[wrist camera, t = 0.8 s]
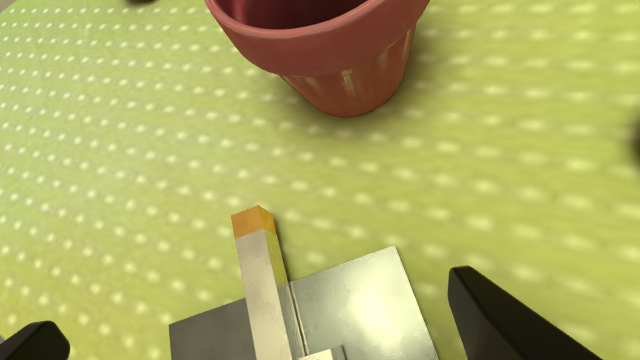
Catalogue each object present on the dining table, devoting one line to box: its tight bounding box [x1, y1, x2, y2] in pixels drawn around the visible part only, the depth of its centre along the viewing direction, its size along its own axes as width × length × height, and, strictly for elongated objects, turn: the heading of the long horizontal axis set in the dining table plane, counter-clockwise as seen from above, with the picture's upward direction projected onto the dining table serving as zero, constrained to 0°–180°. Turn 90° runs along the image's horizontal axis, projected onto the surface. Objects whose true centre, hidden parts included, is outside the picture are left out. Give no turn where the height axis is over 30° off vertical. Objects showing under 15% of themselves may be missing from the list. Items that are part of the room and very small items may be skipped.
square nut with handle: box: [231, 205, 345, 360], centre depth 22 cm, size 17×7×3 cm, turn 17°
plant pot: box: [205, 0, 430, 117], centre depth 25 cm, size 14×14×13 cm
